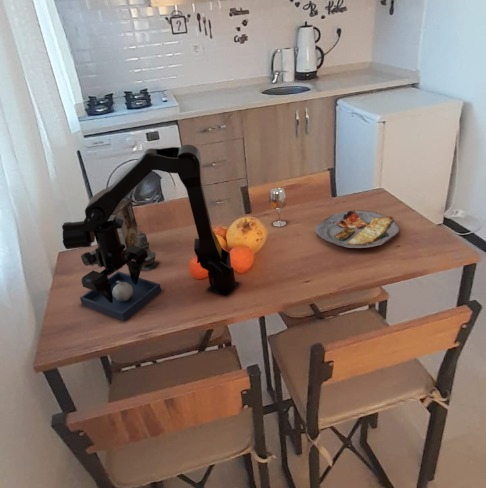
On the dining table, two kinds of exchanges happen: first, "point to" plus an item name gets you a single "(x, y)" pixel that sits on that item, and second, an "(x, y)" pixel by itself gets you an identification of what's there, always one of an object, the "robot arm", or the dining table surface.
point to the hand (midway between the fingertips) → (123, 293)
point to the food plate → (357, 229)
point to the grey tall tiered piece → (150, 259)
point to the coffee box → (126, 223)
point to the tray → (122, 308)
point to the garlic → (122, 291)
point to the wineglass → (278, 203)
